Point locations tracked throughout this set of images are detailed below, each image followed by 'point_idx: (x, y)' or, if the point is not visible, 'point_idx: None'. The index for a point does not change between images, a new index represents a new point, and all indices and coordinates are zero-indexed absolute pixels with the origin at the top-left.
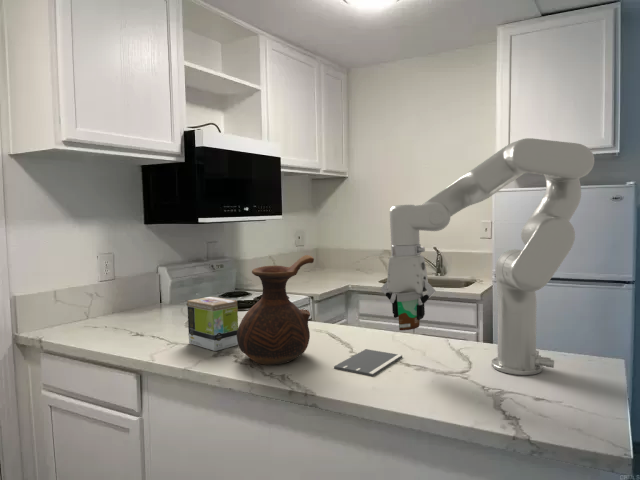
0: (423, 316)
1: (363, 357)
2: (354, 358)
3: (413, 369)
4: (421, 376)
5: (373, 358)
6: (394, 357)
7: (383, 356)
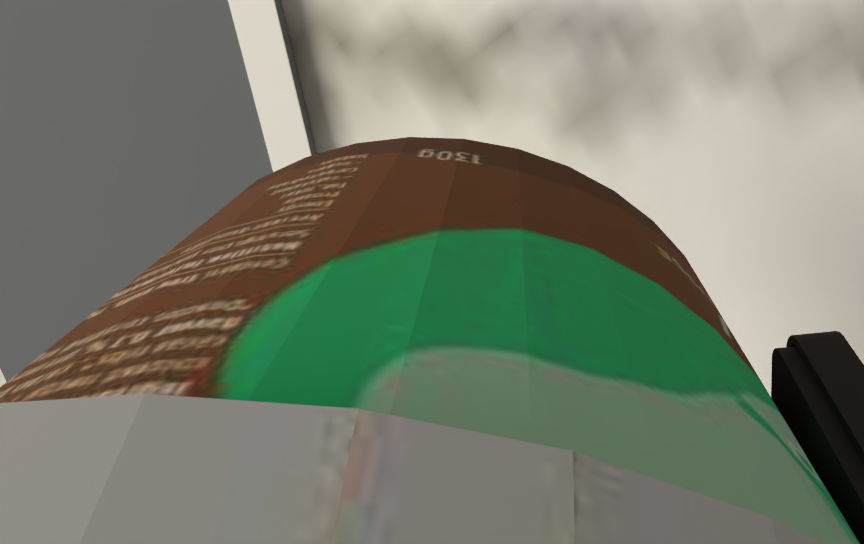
0: (840, 334)
1: (34, 210)
2: (6, 279)
3: (557, 144)
4: (699, 248)
5: (118, 176)
6: (247, 28)
7: (139, 66)
